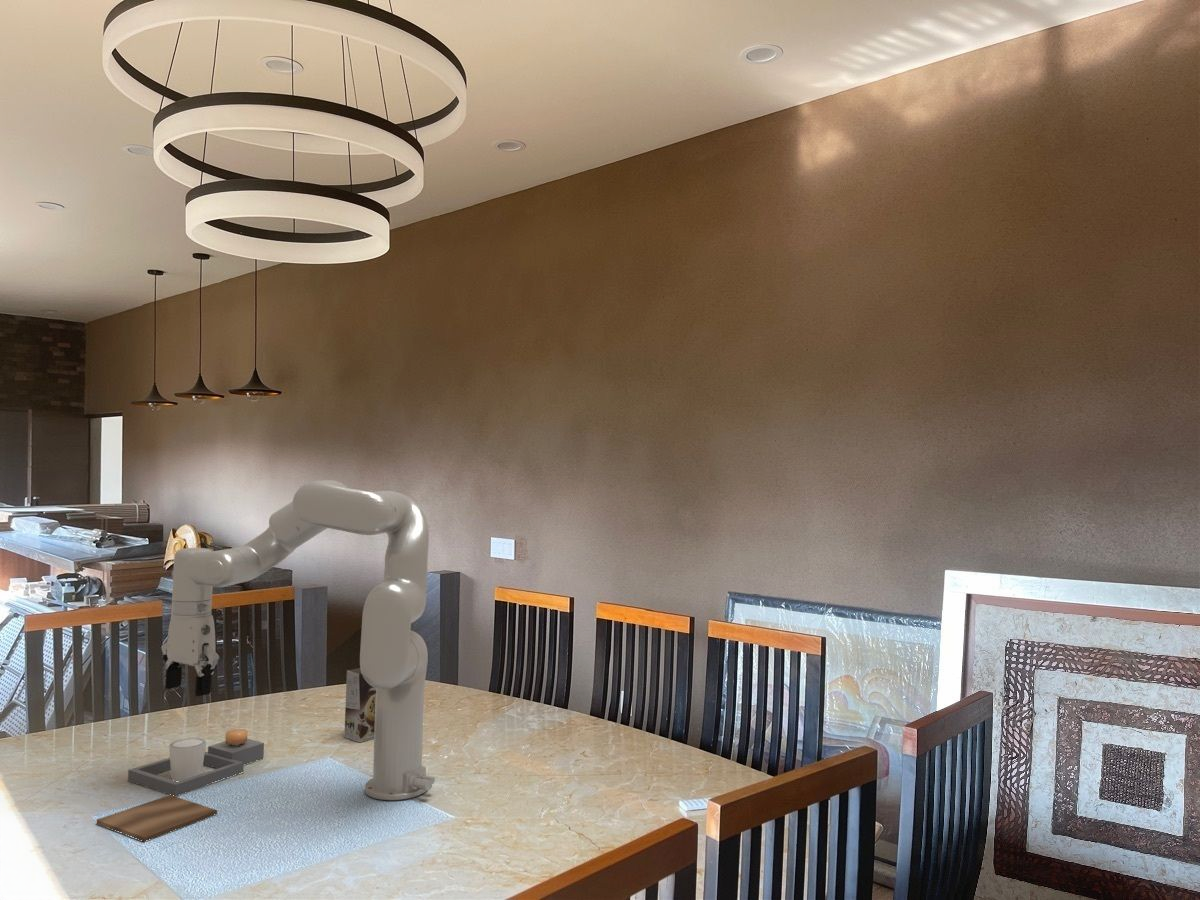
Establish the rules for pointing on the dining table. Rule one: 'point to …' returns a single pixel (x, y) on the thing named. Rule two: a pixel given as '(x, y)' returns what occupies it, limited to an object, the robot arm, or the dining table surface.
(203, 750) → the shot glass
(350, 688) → the coffee box
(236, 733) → the orange rounded piece
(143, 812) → the walnut mat
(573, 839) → the dining table surface
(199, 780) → the housing
